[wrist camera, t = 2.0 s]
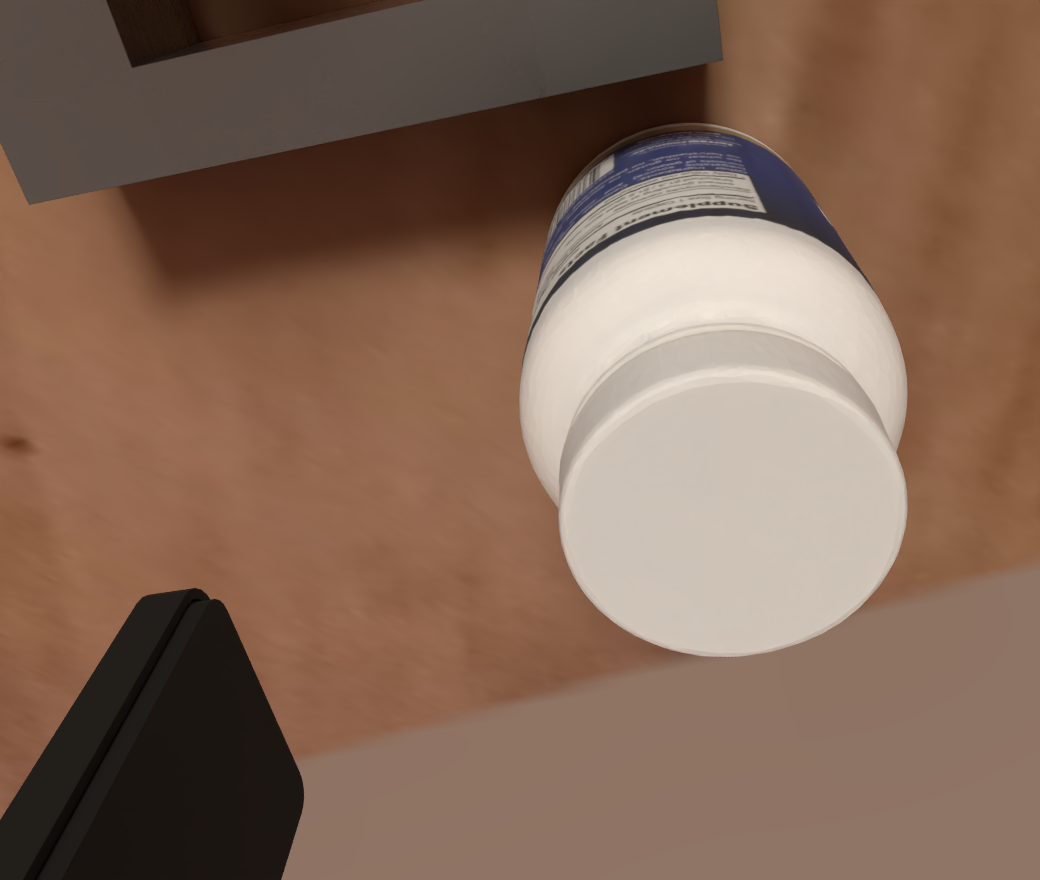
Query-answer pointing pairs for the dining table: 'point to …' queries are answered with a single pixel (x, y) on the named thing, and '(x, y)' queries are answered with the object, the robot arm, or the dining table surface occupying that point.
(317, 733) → the dining table surface
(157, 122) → the socket block
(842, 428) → the pill bottle
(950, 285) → the dining table surface
